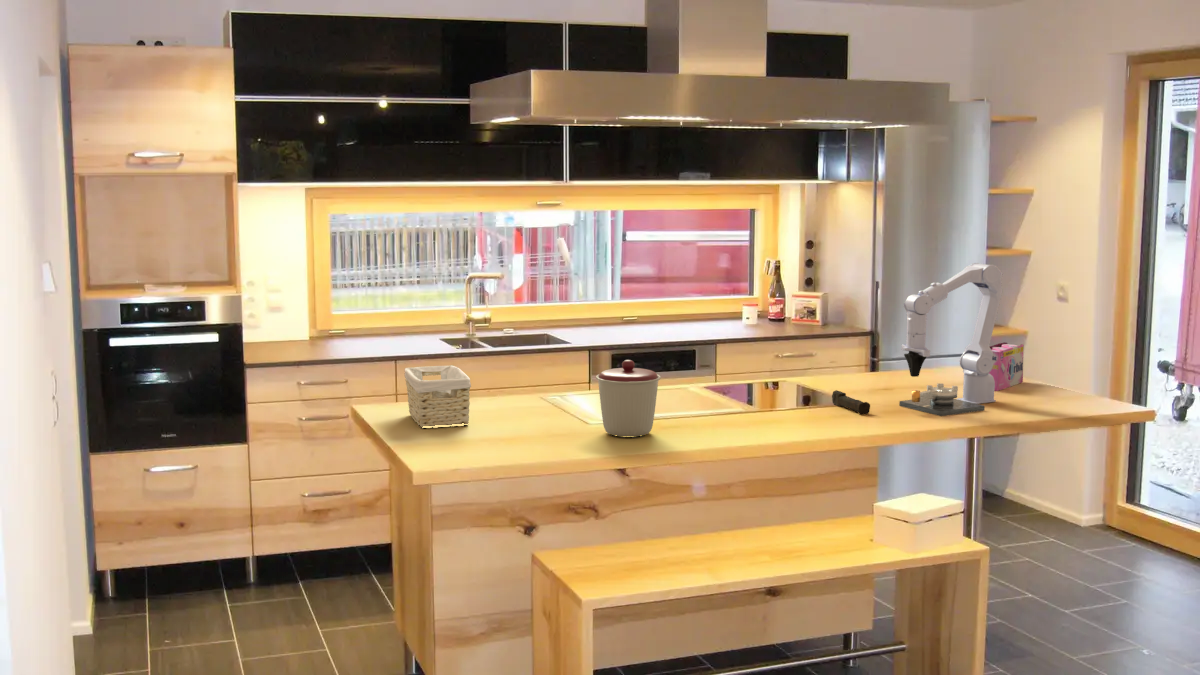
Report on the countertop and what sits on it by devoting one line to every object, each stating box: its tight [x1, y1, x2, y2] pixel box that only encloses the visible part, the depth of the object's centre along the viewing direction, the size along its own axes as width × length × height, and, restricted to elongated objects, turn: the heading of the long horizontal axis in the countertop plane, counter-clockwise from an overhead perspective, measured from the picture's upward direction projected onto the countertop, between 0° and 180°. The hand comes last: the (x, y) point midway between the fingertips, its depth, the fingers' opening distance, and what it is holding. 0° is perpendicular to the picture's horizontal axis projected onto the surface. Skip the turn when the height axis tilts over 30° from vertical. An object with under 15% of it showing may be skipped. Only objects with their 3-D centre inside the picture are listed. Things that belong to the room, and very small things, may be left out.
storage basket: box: [404, 364, 472, 428], centre depth 345 cm, size 24×16×15 cm
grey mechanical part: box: [911, 382, 959, 402], centre depth 361 cm, size 19×9×4 cm, turn 128°
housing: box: [898, 398, 986, 417], centre depth 364 cm, size 18×18×4 cm
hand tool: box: [831, 389, 871, 415], centre depth 364 cm, size 19×4×5 cm, turn 17°
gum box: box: [978, 342, 1024, 392], centre depth 403 cm, size 24×8×14 cm, turn 139°
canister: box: [595, 359, 662, 437], centre depth 327 cm, size 18×18×21 cm
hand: (914, 376), depth 367 cm, fingers closed
